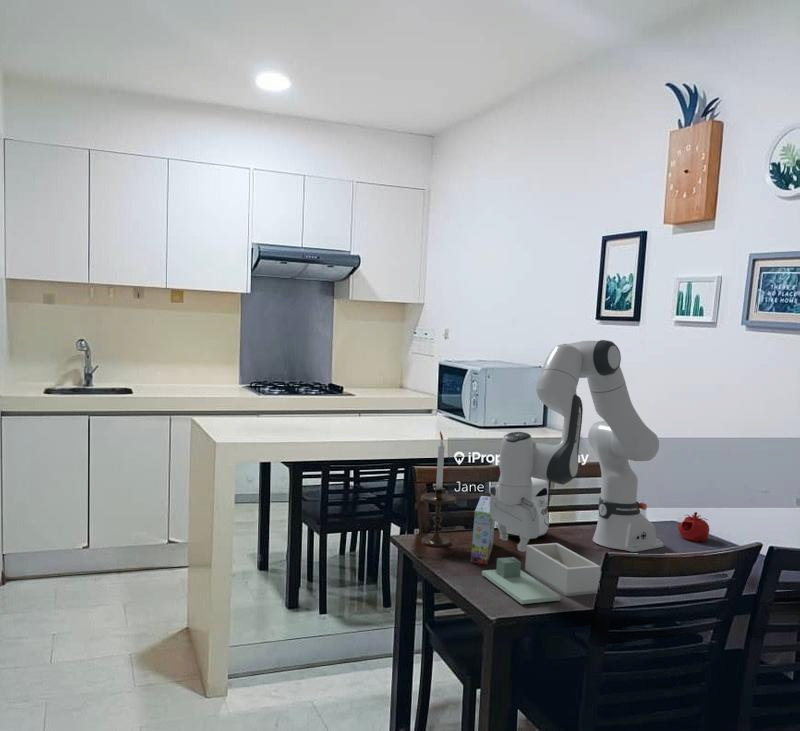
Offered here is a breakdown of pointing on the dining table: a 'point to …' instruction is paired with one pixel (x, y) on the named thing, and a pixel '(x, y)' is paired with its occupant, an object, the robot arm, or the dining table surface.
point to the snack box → (482, 532)
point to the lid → (519, 582)
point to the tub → (562, 569)
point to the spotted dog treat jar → (537, 506)
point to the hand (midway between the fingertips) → (512, 545)
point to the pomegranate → (694, 528)
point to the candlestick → (438, 503)
